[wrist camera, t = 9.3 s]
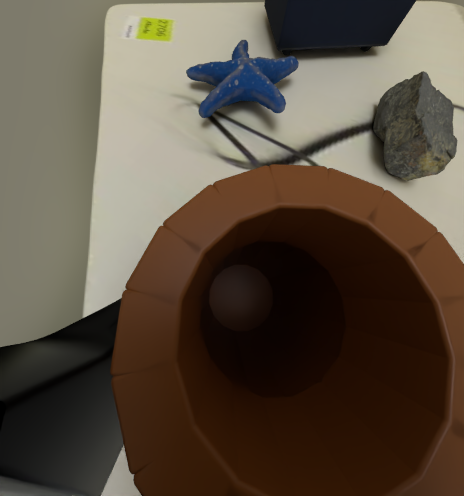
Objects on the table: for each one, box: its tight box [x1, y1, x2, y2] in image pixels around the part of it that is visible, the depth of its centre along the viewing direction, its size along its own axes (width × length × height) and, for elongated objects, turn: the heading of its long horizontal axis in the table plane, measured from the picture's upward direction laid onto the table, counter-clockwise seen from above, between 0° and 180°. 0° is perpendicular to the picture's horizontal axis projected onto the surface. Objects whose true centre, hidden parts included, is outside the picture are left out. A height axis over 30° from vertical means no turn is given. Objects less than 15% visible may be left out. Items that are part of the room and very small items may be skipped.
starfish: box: [186, 40, 298, 118], centre depth 27 cm, size 19×19×5 cm
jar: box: [110, 164, 464, 496], centre depth 9 cm, size 6×6×13 cm
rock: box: [373, 72, 457, 180], centre depth 25 cm, size 17×7×10 cm
